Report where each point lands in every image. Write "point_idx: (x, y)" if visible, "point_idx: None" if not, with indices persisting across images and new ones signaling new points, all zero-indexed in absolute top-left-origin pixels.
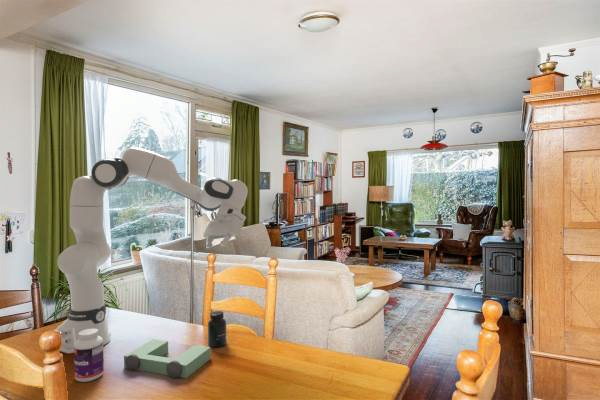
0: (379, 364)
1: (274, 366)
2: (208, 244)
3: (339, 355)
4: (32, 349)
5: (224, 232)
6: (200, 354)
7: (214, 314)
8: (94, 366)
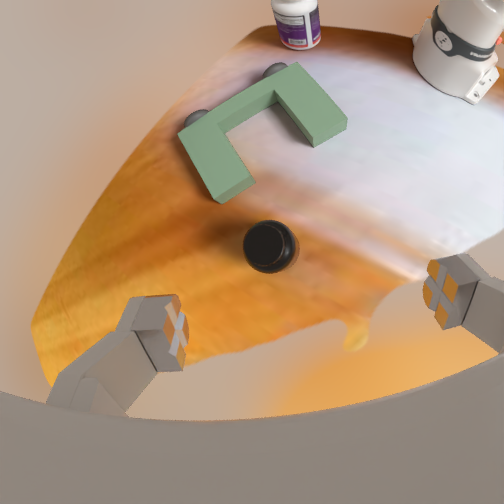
0: None
1: (124, 279)
2: (446, 269)
3: None
4: None
5: (65, 411)
6: (197, 168)
7: (254, 231)
8: (277, 27)
